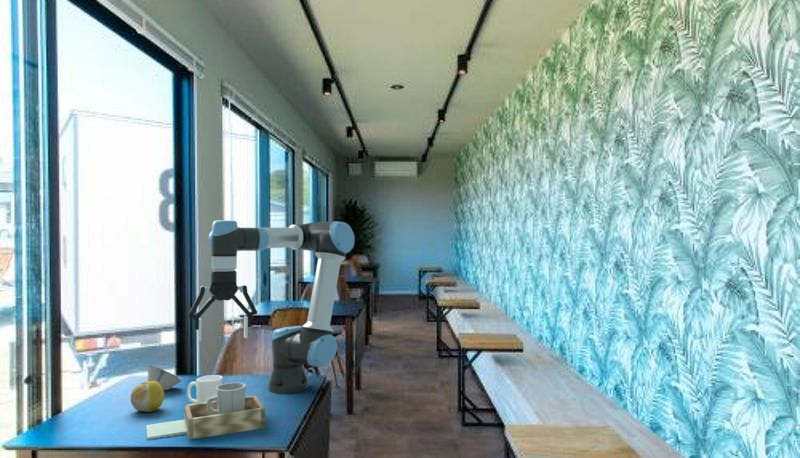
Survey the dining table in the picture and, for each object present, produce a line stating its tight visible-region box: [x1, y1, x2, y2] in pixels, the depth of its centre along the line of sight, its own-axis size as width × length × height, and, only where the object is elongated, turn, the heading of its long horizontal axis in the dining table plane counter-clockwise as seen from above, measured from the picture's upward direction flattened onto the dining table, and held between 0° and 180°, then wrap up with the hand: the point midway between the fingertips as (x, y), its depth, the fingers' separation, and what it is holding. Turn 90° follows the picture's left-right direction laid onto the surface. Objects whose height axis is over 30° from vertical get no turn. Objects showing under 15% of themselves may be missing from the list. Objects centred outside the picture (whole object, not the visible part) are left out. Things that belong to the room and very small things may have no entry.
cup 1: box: [186, 374, 223, 404], centre depth 185 cm, size 8×12×10 cm
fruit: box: [130, 380, 165, 413], centre depth 182 cm, size 10×11×10 cm
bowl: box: [147, 365, 181, 391], centre depth 205 cm, size 13×13×5 cm
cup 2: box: [207, 382, 247, 414], centre depth 168 cm, size 10×9×12 cm
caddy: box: [183, 394, 266, 440], centre depth 167 cm, size 22×15×6 cm
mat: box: [145, 418, 187, 441], centre depth 163 cm, size 11×11×1 cm
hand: (223, 339), depth 170 cm, fingers open, 13 cm apart
